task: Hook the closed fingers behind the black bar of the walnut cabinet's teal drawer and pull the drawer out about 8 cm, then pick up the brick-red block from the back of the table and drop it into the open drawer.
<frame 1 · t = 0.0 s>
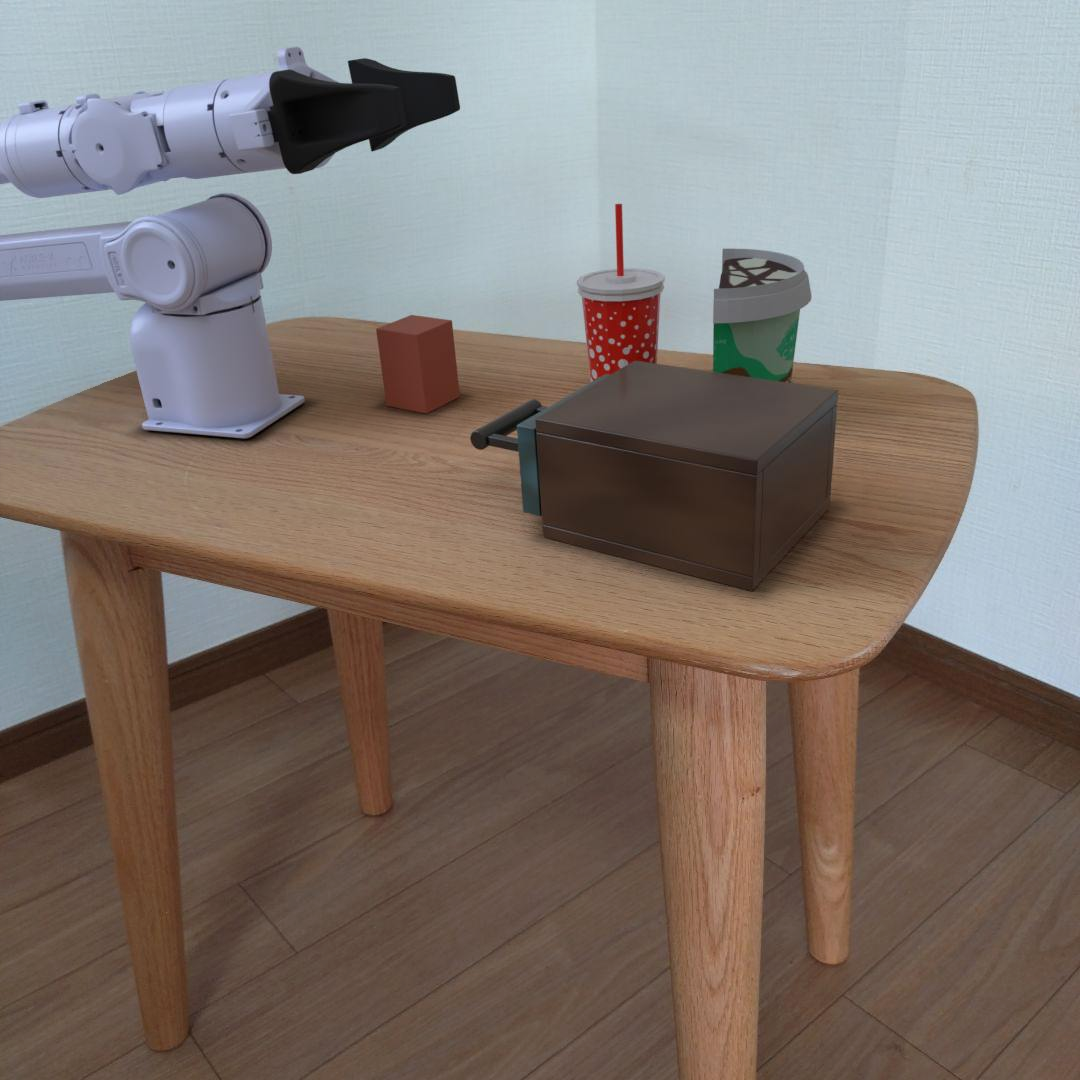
hand: (429, 99, 62), 22 cm above the table, tool horizontal, fingers open, 7 cm apart
food container: (759, 411, 73), on the table
cabinet: (687, 522, 59), on the table
block: (423, 401, 79), on the table
beverage cup: (623, 402, 77), on the table
drawer: (614, 450, 59), point 4 cm above the table, slide at 0.5 cm
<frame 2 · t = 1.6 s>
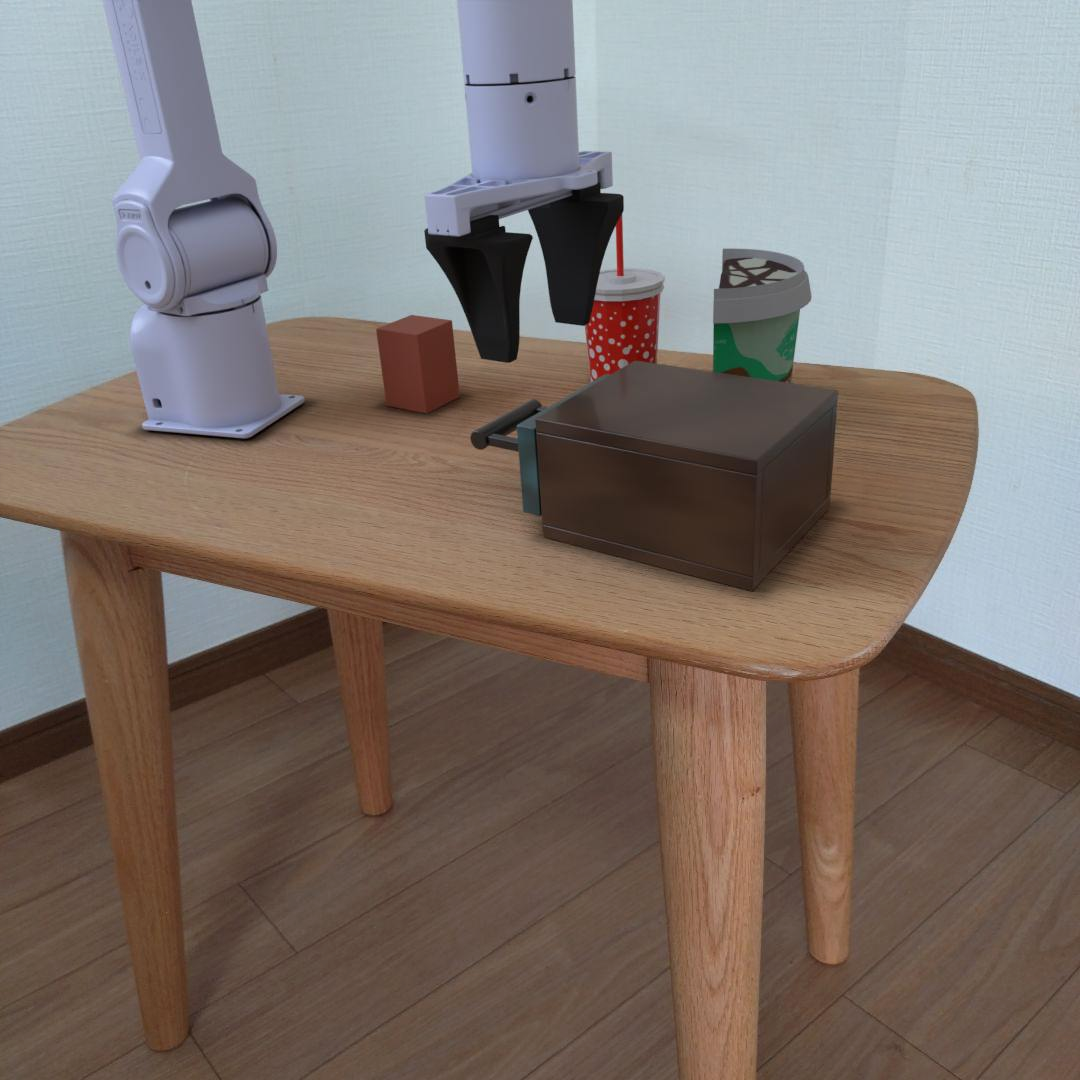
hand: (537, 340, 59), 9 cm above the table, tool pointing down, fingers open, 7 cm apart
nothing on the table moved.
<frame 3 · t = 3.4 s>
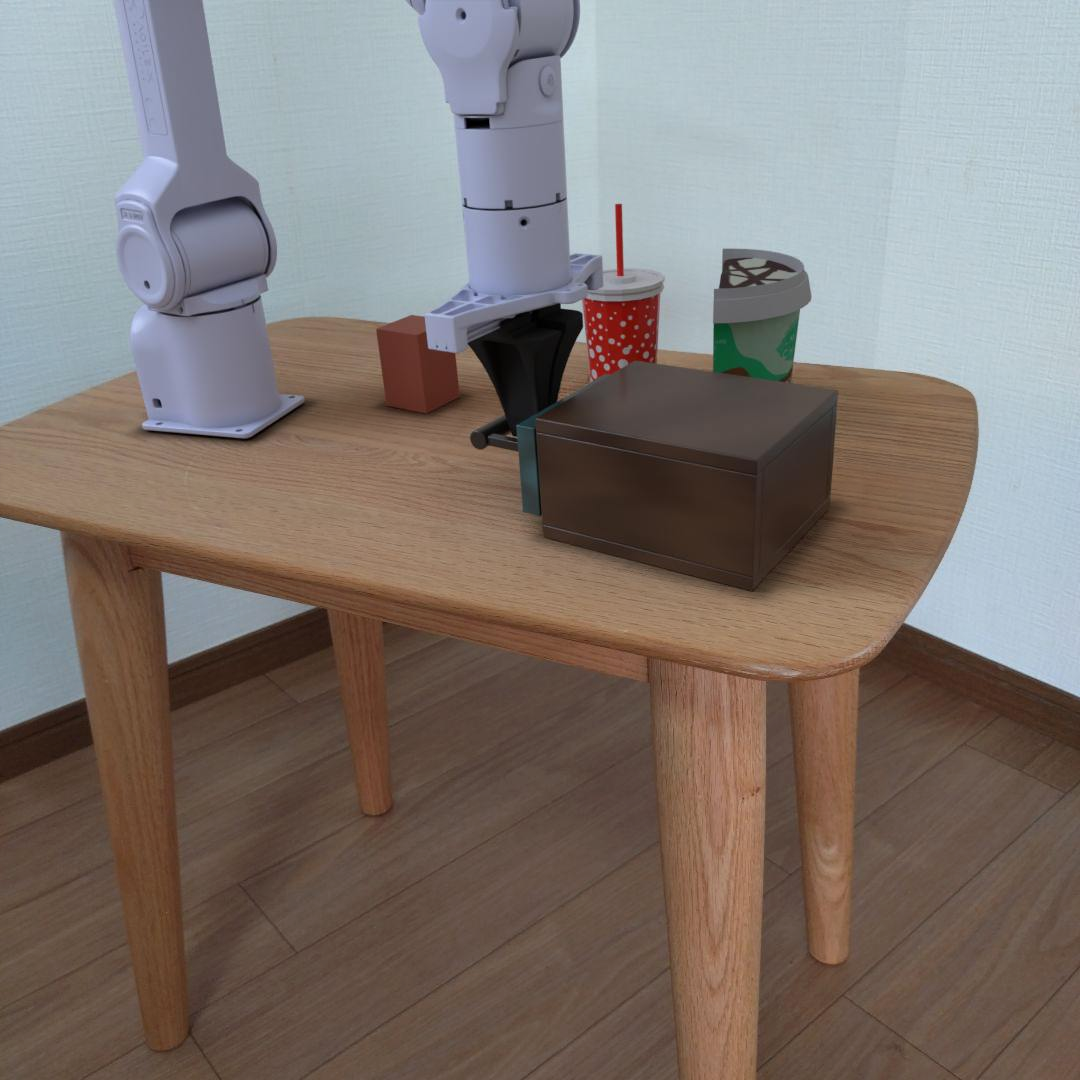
hand: (531, 434, 62), 3 cm above the table, tool pointing down, fingers closed, pressing on drawer
drawer: (614, 450, 59), point 4 cm above the table, slide at 0.5 cm, touching gripper
everything else where it was.
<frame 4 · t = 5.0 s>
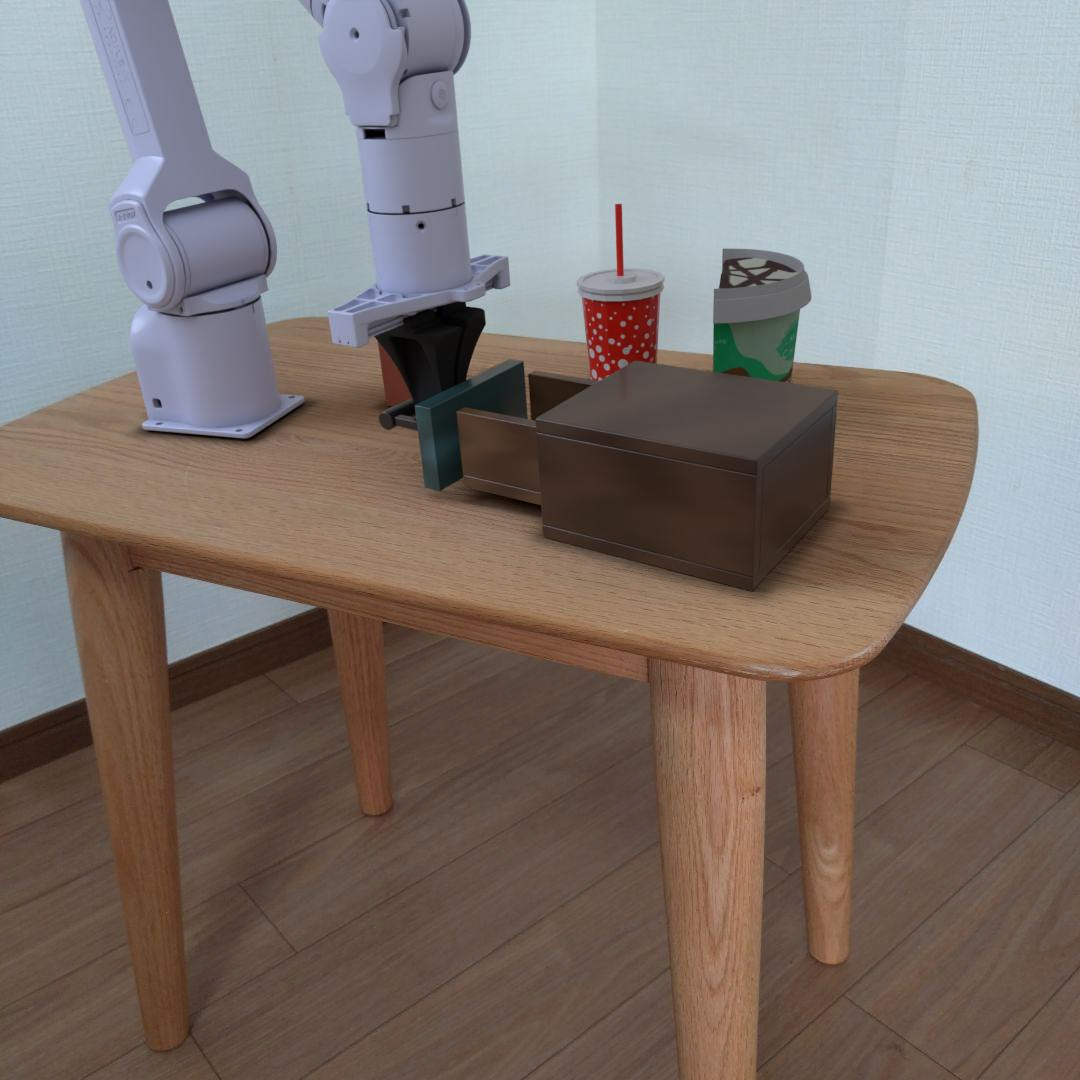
hand: (440, 425, 66), 3 cm above the table, tool pointing down, fingers closed, pressing on drawer
drawer: (511, 429, 63), point 4 cm above the table, slide at 7.8 cm, touching gripper
everything else where it was.
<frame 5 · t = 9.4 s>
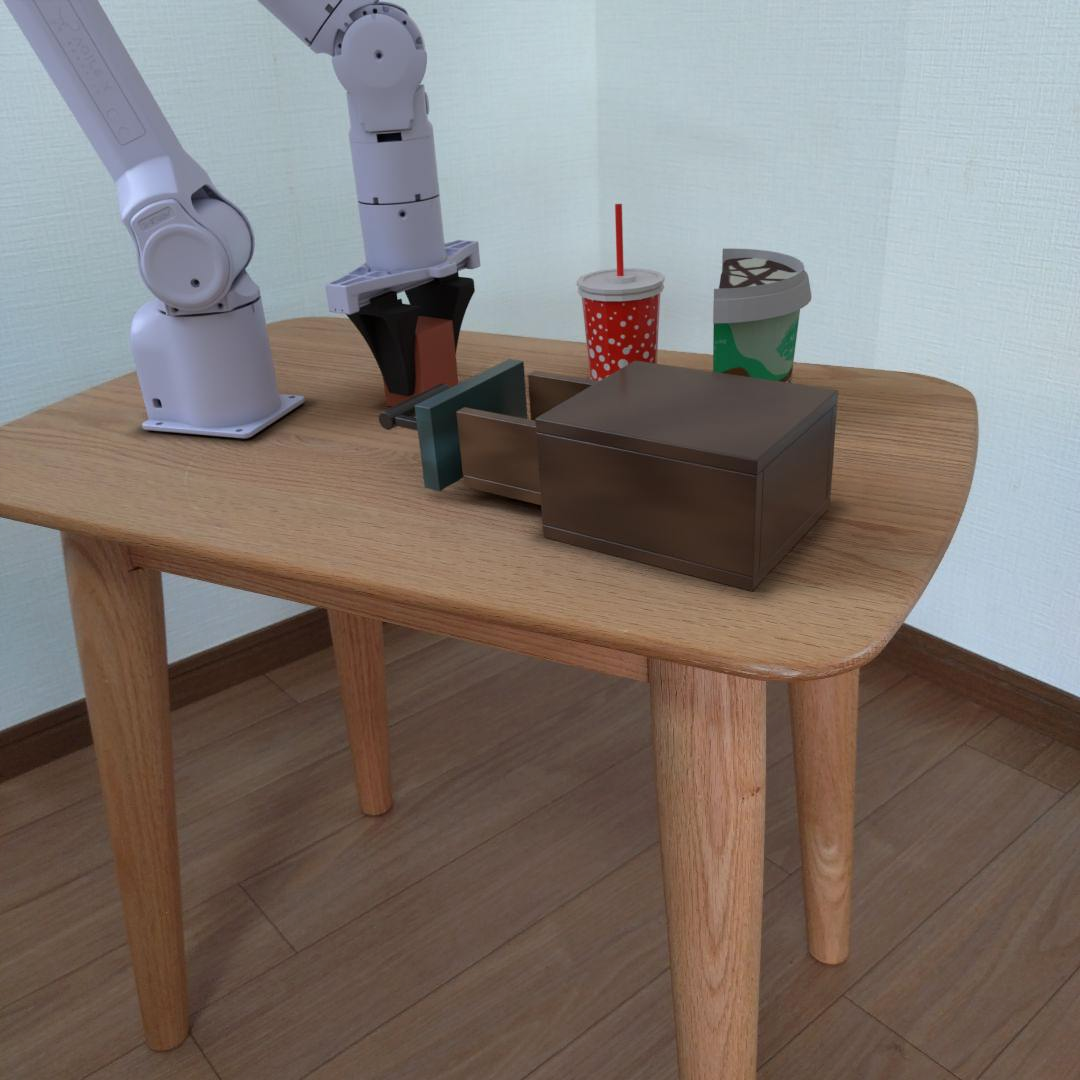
hand: (421, 383, 79), 1 cm above the table, tool pointing down, fingers closed on block, 4 cm apart
block: (423, 401, 79), on the table, touching gripper
drawer: (511, 429, 63), point 4 cm above the table, slide at 7.8 cm
everything else where it was.
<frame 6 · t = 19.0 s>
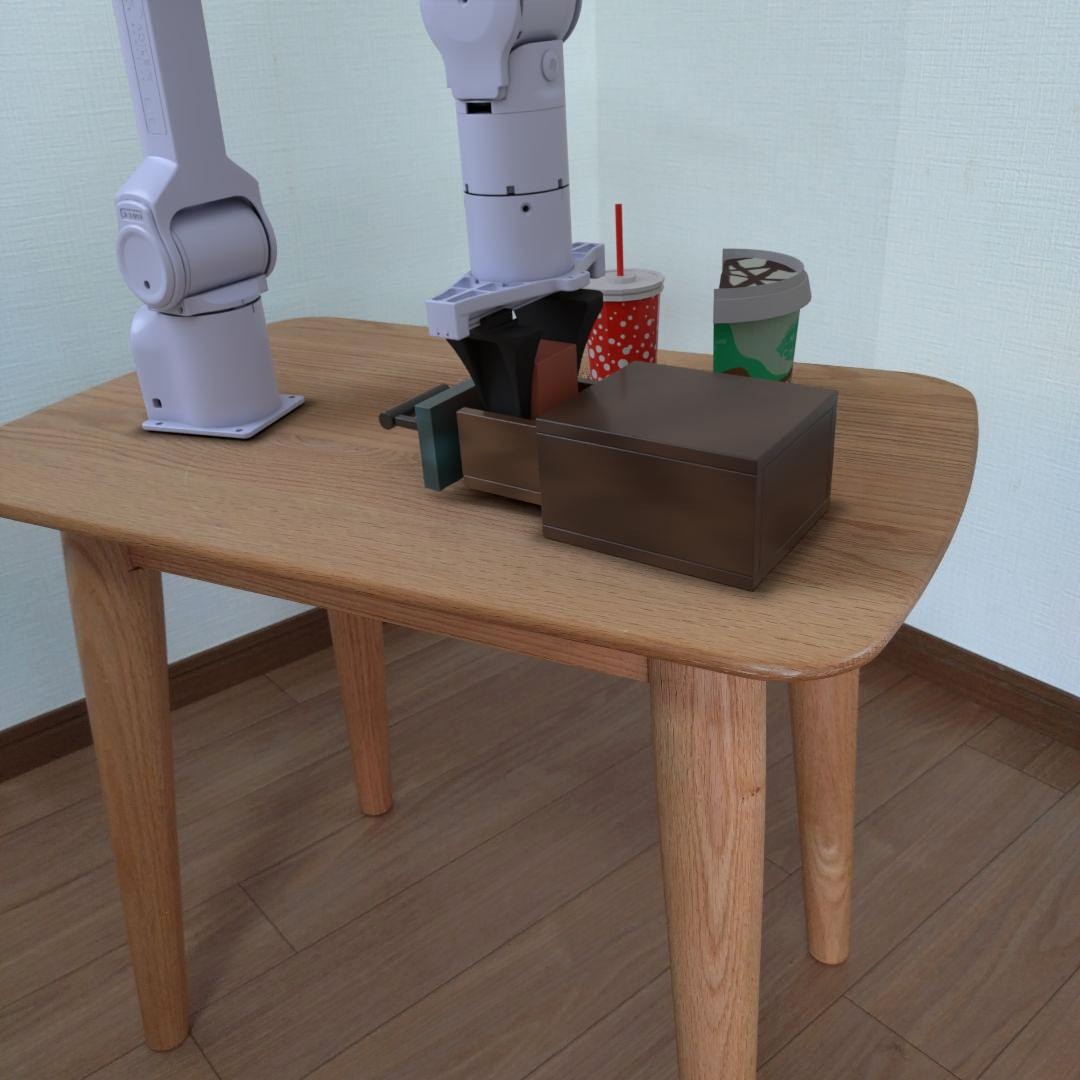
hand: (533, 424, 62), 4 cm above the table, tool pointing down, fingers closed on block, 4 cm apart
block: (535, 445, 63), point 3 cm above the table, touching gripper
drawer: (511, 429, 63), point 4 cm above the table, slide at 7.8 cm, touching gripper
everything else where it was.
when the fingers open (8 cm above the table, at t = 30.5 s): block drops 4 cm, resting on drawer.
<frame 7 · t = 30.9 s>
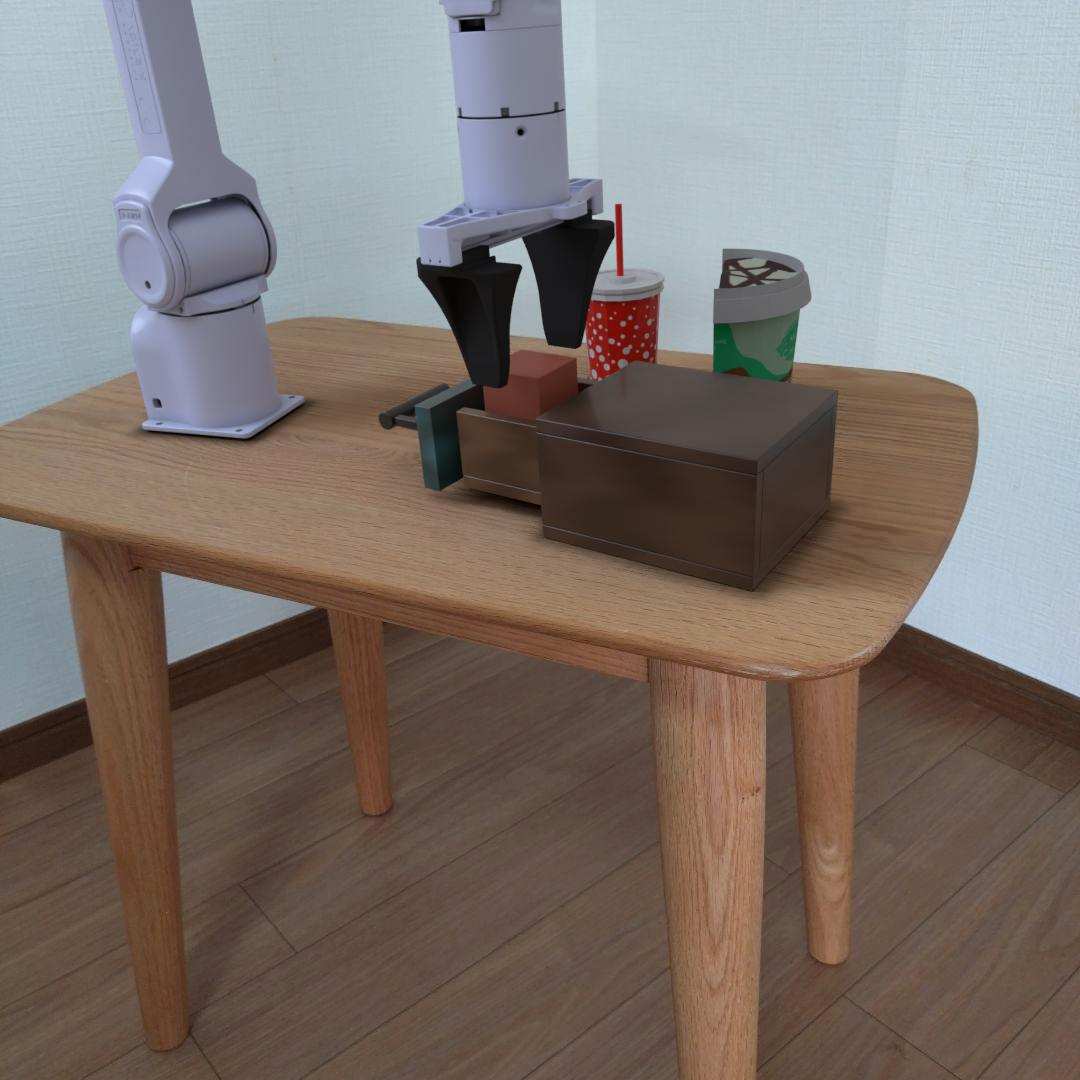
hand: (528, 364, 60), 8 cm above the table, tool pointing down, fingers open, 7 cm apart
block: (535, 458, 63), point 2 cm above the table, touching drawer
drawer: (511, 429, 63), point 4 cm above the table, slide at 7.8 cm, touching block
everything else where it was.
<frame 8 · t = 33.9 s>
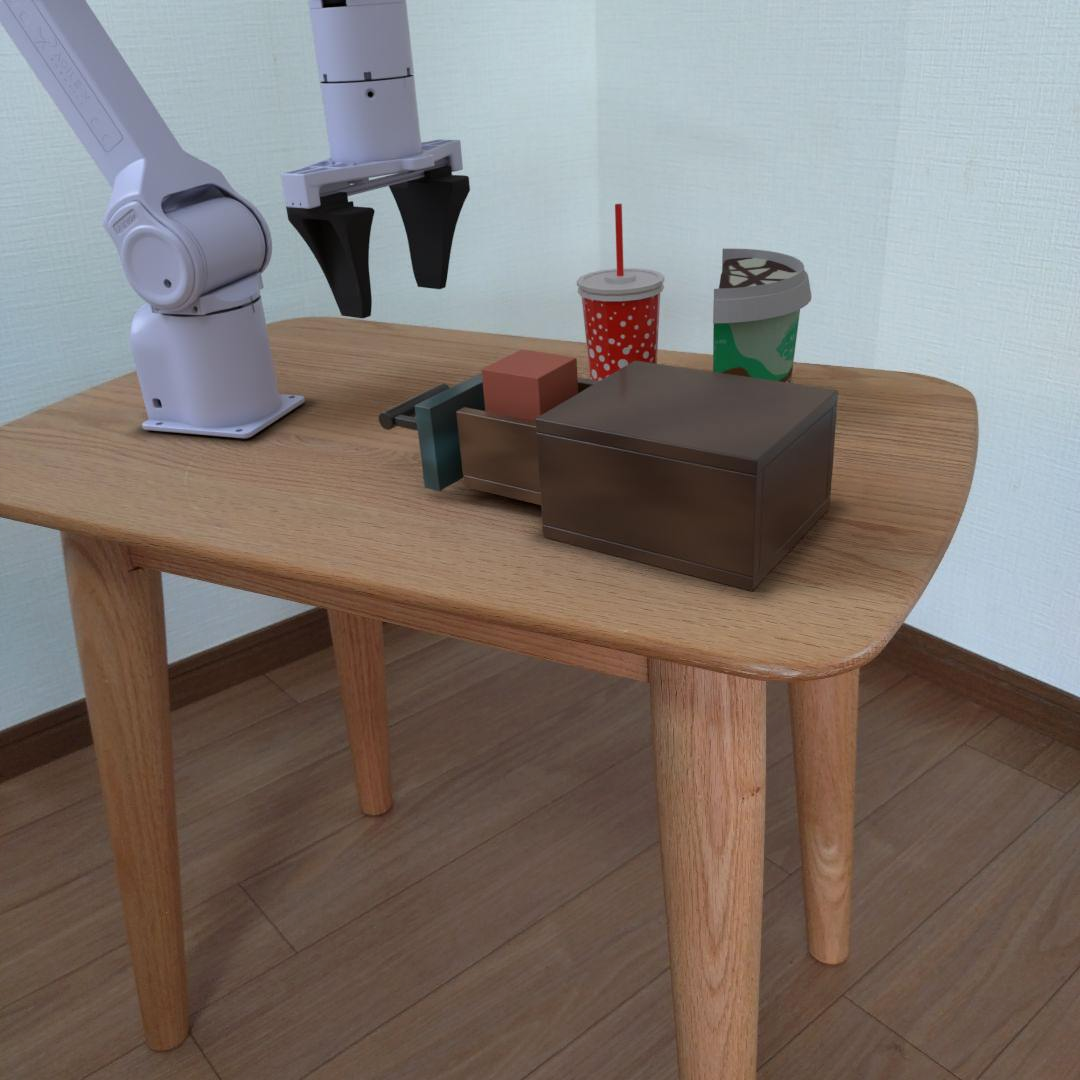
hand: (395, 301, 69), 9 cm above the table, tool pointing down, fingers open, 7 cm apart
nothing on the table moved.
at the end: drawer slide at 7.8 cm; block inside the target area in the drawer (0.3 cm from its centre), point 2.0 cm above the cabinet's base; the gripper is holding nothing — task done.
